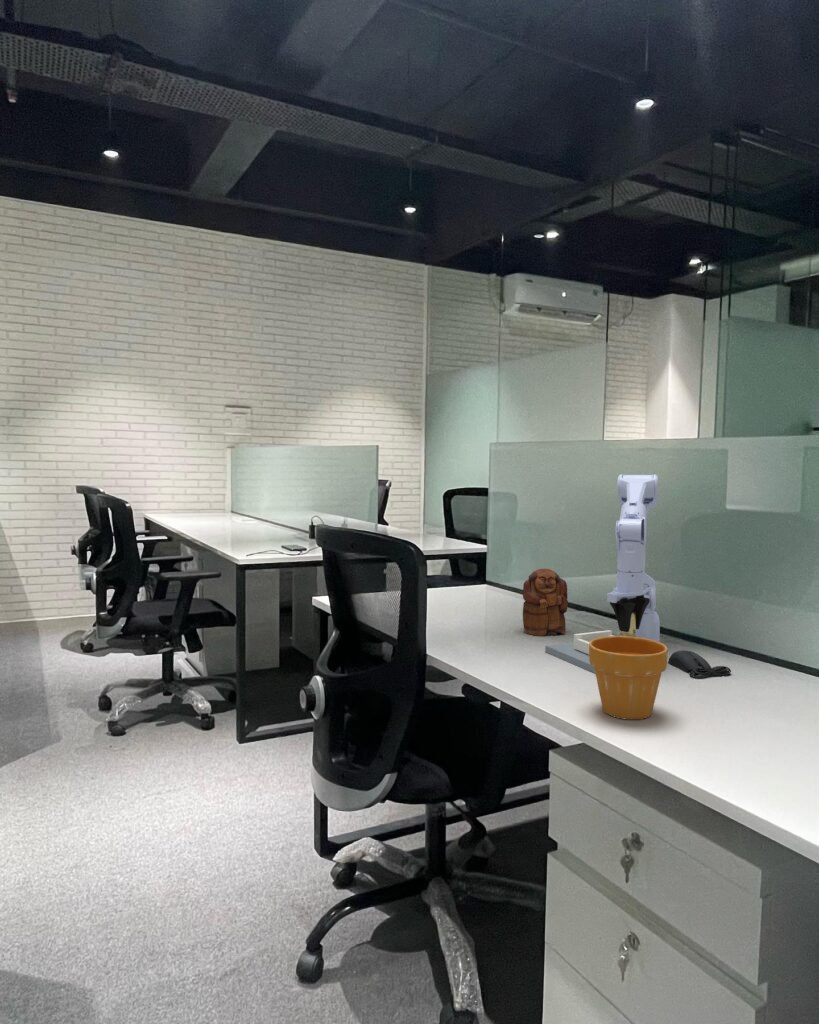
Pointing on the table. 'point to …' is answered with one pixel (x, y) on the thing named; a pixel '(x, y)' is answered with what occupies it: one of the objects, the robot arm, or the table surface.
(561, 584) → the wooden figurine
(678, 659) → the computer mouse
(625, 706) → the flower pot
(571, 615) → the table surface
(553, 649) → the base board
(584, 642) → the frame
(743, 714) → the table surface
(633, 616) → the pin
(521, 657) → the table surface
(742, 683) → the table surface
